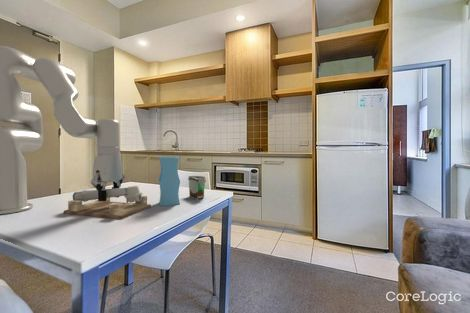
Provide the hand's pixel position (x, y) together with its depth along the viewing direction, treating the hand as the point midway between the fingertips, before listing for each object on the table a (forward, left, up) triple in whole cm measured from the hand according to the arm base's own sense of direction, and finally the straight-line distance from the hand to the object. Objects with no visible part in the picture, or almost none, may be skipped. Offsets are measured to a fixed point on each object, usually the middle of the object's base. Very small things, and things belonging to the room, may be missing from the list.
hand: (109, 198), depth 85 cm
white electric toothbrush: (0, 0, -2) cm, 2 cm away
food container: (+24, +30, -5) cm, 39 cm away
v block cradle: (0, 0, -5) cm, 5 cm away
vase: (+16, +16, -5) cm, 23 cm away
